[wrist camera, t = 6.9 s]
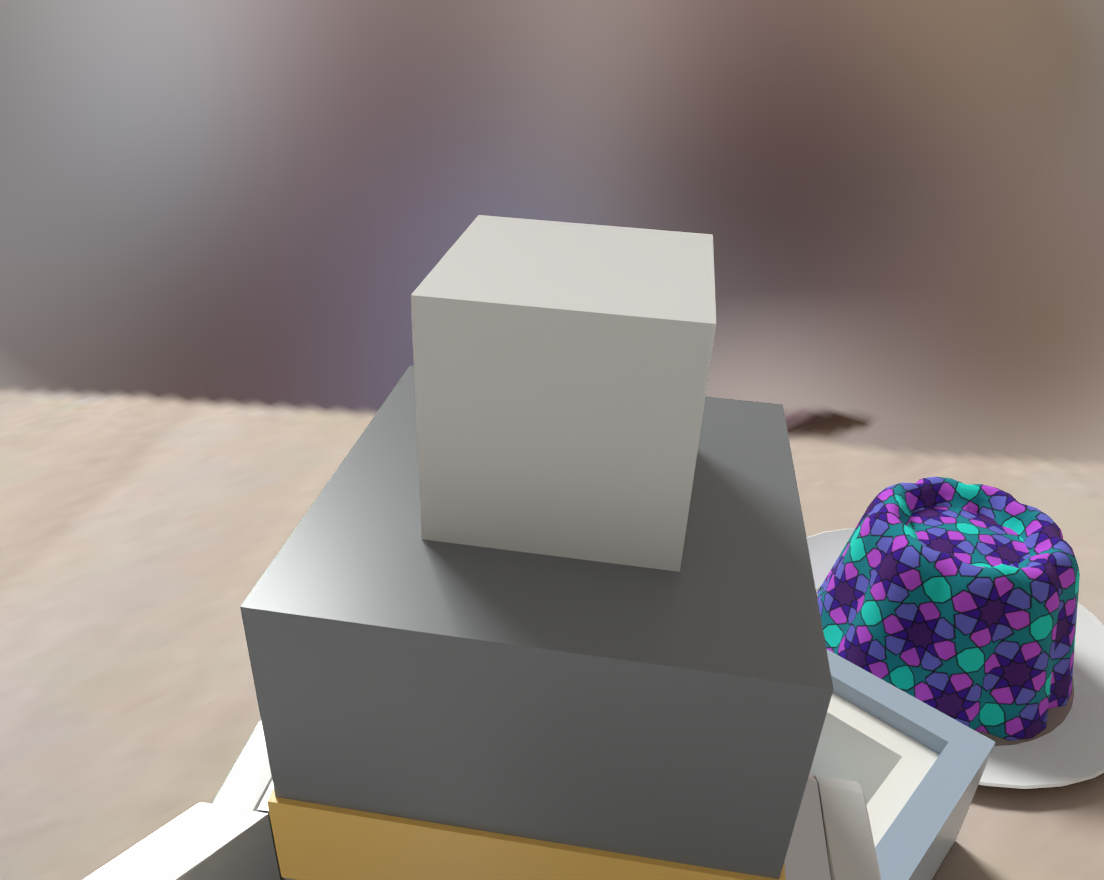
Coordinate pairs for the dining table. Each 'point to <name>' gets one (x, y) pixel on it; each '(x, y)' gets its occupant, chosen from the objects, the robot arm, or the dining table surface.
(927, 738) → the walled box
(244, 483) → the dining table surface
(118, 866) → the robot arm
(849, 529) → the pudding
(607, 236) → the grey bottle
